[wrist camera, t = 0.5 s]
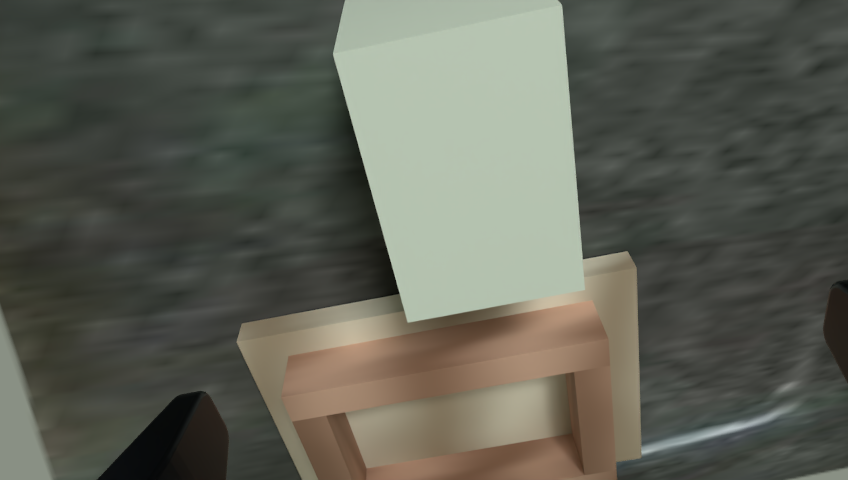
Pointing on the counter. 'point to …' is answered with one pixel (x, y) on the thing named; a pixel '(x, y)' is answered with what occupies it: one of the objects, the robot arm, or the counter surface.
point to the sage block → (466, 147)
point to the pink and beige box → (458, 386)
